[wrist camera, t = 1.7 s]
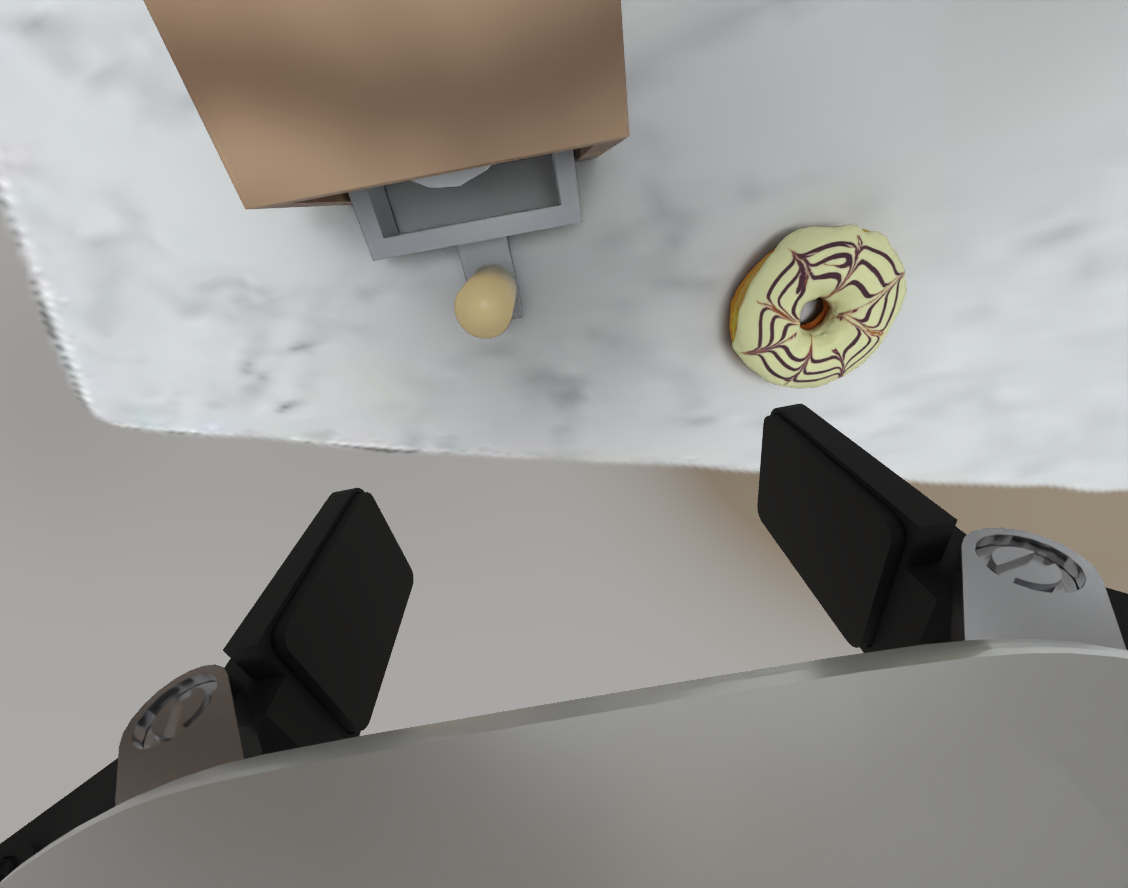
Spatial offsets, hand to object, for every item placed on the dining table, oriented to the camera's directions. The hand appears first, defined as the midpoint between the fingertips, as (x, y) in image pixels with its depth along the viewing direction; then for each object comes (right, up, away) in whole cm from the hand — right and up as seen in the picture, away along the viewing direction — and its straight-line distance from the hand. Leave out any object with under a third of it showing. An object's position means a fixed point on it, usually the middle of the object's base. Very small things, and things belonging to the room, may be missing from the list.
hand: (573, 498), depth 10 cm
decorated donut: (+17, +11, +20) cm, 28 cm away
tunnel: (-6, +20, +13) cm, 24 cm away
